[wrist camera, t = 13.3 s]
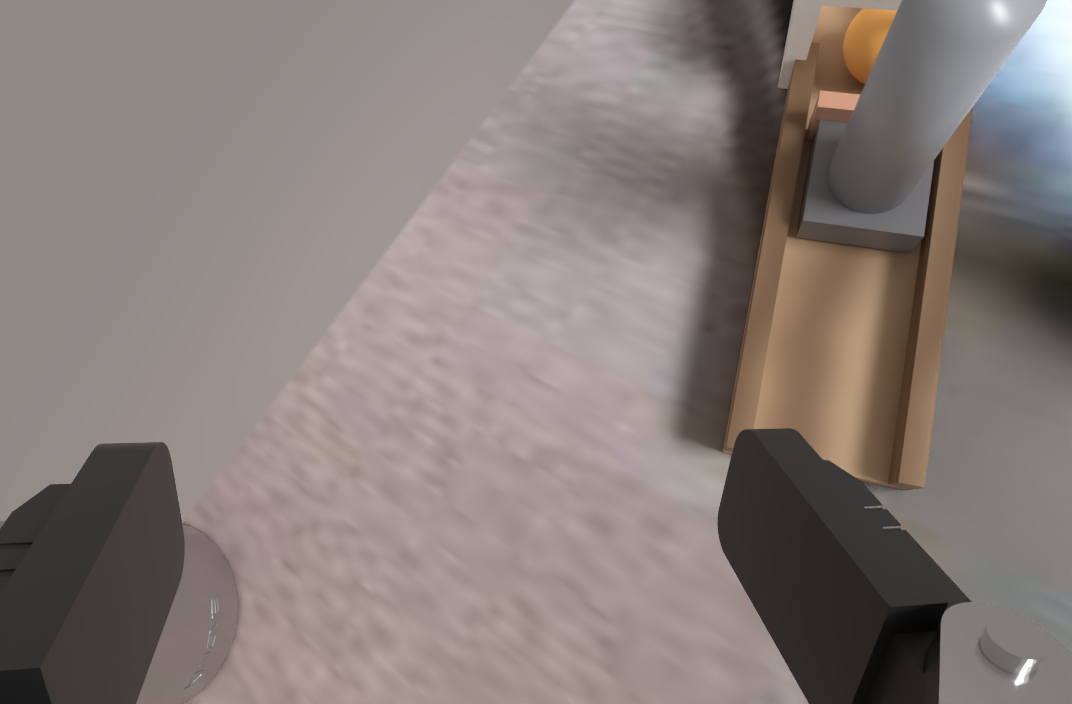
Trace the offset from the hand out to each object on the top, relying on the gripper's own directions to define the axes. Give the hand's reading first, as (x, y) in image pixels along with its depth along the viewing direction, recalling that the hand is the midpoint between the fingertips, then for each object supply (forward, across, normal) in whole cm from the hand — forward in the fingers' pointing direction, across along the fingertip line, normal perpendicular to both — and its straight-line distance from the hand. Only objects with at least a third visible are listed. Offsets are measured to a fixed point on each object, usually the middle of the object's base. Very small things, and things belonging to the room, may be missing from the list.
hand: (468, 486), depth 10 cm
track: (+23, -21, +2) cm, 31 cm away
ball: (+25, -22, -6) cm, 34 cm away
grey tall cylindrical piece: (+23, -20, +1) cm, 30 cm away
